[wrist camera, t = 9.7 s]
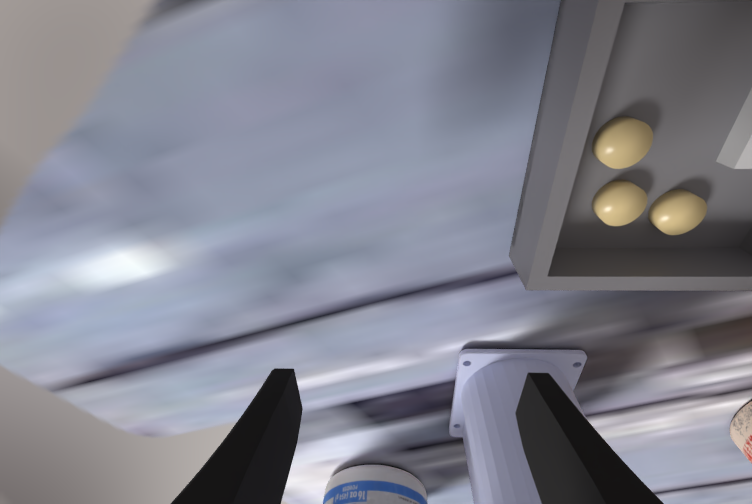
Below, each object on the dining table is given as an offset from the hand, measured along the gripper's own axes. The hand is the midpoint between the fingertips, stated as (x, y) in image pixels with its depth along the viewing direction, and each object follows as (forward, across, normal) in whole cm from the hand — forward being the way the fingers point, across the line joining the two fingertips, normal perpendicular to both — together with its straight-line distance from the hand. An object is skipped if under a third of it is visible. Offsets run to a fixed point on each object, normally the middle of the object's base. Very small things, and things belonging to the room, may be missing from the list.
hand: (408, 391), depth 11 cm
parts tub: (+9, -12, -5) cm, 16 cm away
